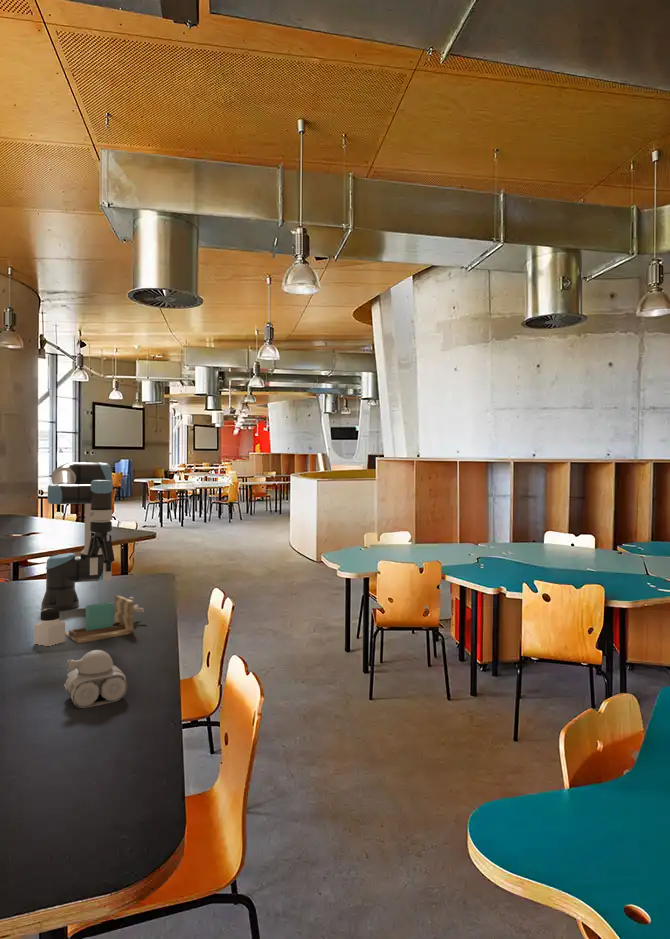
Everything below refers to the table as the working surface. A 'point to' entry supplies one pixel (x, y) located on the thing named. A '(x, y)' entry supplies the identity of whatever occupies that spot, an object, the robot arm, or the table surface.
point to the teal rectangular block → (99, 616)
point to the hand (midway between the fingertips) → (100, 577)
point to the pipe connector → (136, 606)
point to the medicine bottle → (49, 628)
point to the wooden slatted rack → (120, 627)
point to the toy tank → (94, 680)
